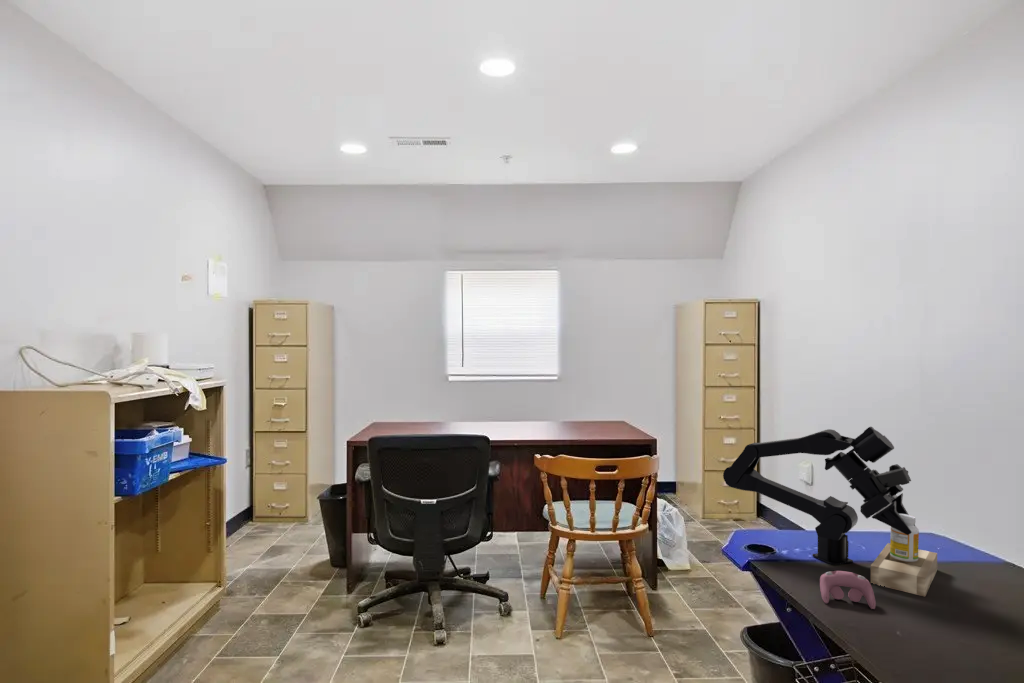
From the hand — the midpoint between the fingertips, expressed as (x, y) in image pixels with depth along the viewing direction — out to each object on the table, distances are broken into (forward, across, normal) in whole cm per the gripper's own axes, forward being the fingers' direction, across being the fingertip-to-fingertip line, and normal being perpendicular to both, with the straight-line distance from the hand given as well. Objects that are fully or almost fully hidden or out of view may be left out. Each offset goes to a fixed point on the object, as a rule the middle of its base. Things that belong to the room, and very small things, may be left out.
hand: (911, 530), depth 133 cm
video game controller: (+2, -24, +13) cm, 28 cm away
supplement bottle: (+4, 0, +6) cm, 7 cm away
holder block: (+7, 0, +8) cm, 11 cm away
